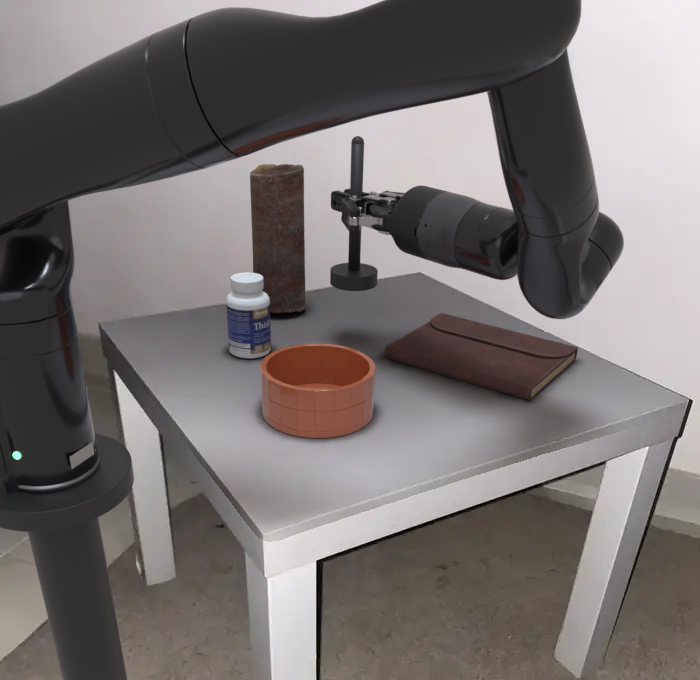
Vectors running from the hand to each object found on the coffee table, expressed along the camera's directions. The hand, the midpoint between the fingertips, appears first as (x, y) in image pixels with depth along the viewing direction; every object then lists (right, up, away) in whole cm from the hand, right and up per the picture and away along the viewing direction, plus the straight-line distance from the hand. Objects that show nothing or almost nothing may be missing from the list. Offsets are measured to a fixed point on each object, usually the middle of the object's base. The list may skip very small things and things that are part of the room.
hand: (339, 198), depth 95 cm
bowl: (-2, -27, -10) cm, 29 cm away
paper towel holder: (+2, -10, +3) cm, 10 cm away
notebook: (+18, -20, +3) cm, 27 cm away
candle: (-9, -11, +16) cm, 21 cm away
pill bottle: (-12, -18, +4) cm, 22 cm away
